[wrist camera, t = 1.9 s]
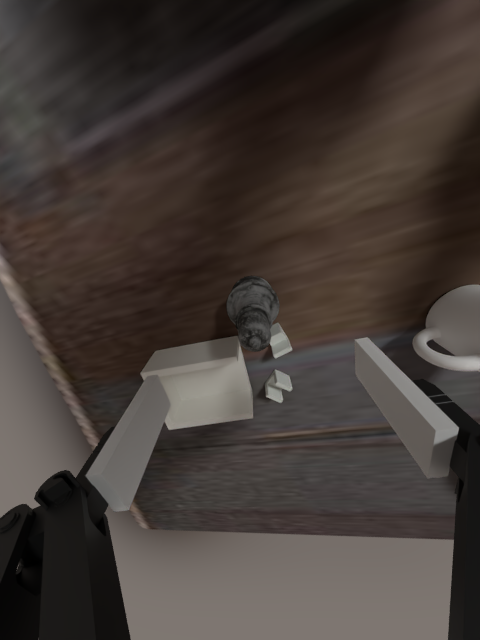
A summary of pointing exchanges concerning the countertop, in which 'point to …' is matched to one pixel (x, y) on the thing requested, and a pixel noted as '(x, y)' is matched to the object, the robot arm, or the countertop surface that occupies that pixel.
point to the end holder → (203, 382)
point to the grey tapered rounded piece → (253, 311)
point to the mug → (453, 330)
